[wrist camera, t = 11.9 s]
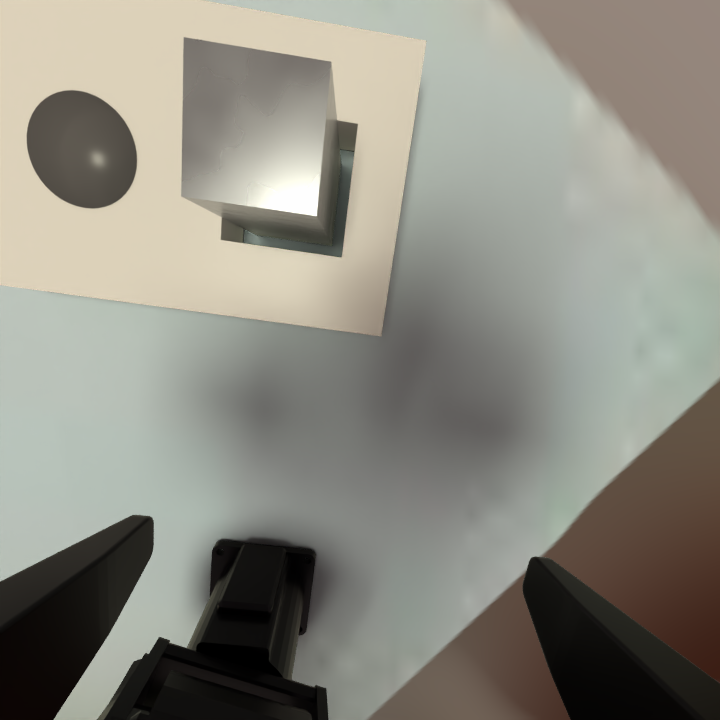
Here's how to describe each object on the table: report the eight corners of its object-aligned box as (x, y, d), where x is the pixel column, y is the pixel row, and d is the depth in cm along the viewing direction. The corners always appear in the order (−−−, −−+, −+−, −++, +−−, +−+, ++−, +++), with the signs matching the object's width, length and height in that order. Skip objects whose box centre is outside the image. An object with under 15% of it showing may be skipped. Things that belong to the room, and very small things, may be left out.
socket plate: (376, 328, 19) (381, 336, 16) (44, 283, 18) (-18, 283, 15) (413, 84, 16) (426, 39, 13) (28, 17, 15) (-51, -47, 12)
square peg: (332, 246, 18) (316, 215, 10) (257, 235, 18) (180, 196, 10) (341, 164, 17) (331, 61, 9) (262, 152, 17) (183, 37, 9)
